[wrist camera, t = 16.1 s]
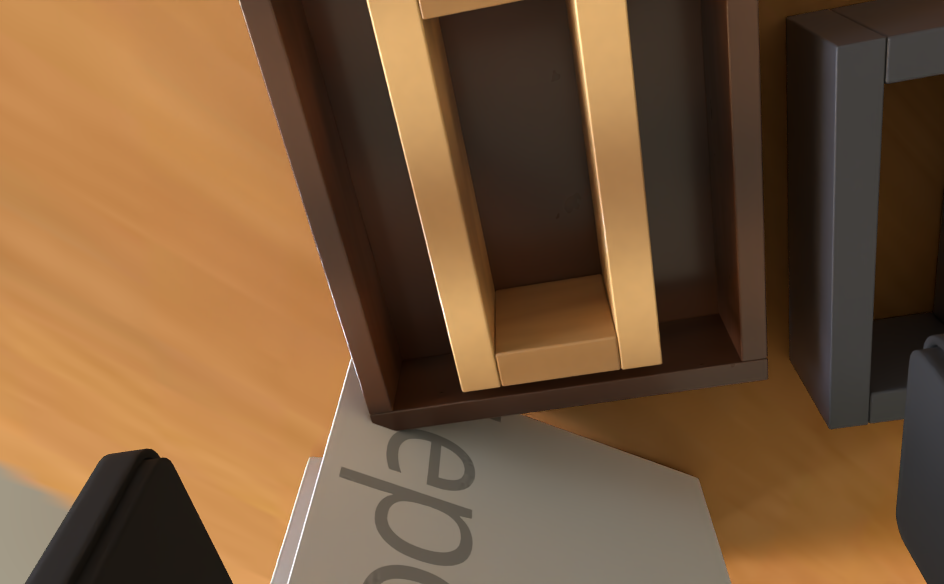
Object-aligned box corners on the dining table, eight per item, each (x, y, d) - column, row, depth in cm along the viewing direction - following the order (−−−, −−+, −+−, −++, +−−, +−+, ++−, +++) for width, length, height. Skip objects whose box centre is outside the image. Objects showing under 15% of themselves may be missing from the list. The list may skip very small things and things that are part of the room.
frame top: (382, -43, 22) (360, -23, 19) (599, -89, 22) (619, -76, 18) (466, 324, 28) (462, 393, 24) (641, 298, 27) (662, 364, 24)
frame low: (785, 16, 23) (836, 46, 20) (1005, -25, 23) (1098, -2, 19) (788, 359, 29) (829, 430, 25) (965, 334, 28) (1031, 403, 25)
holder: (247, -108, 22) (205, -101, 19) (714, -213, 21) (753, -223, 18) (388, 372, 30) (375, 434, 27) (738, 320, 28) (768, 380, 25)
